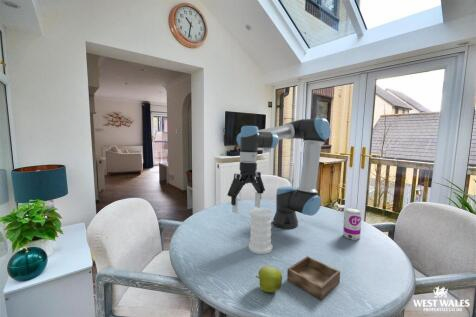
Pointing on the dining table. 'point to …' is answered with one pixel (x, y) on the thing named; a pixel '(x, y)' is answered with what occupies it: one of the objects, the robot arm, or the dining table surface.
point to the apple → (269, 279)
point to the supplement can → (352, 223)
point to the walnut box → (313, 277)
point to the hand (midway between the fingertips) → (246, 209)
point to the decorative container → (260, 231)
